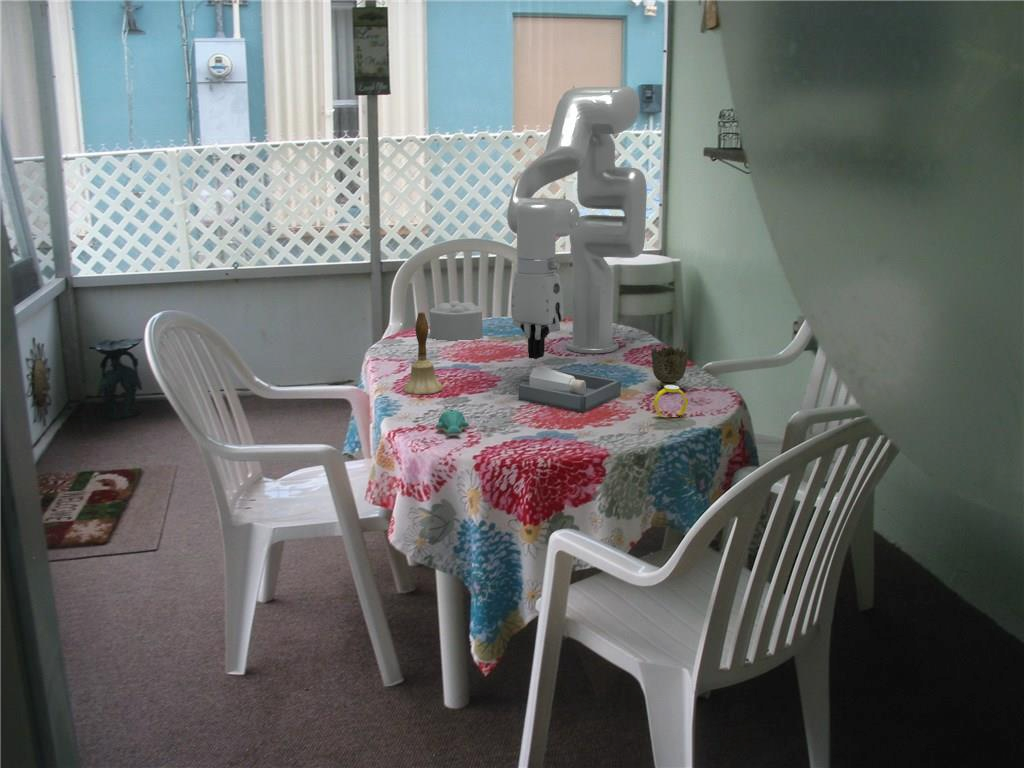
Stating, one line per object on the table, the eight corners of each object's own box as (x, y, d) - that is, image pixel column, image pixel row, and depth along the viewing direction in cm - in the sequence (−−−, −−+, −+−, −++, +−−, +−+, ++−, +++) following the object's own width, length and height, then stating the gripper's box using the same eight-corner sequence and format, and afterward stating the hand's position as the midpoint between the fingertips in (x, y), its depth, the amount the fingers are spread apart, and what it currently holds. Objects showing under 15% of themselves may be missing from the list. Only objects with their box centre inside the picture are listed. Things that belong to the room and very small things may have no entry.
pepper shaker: (531, 397, 189) (579, 406, 184) (526, 375, 186) (574, 384, 180) (544, 381, 193) (591, 390, 187) (539, 360, 190) (587, 368, 184)
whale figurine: (467, 425, 169) (467, 405, 168) (470, 439, 162) (469, 418, 161) (435, 427, 169) (435, 407, 168) (436, 440, 162) (436, 419, 161)
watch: (682, 415, 175) (686, 385, 173) (687, 420, 172) (690, 389, 170) (651, 414, 174) (654, 384, 172) (655, 419, 171) (658, 388, 170)
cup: (664, 395, 186) (665, 356, 184) (642, 386, 193) (644, 348, 191) (694, 390, 190) (696, 351, 188) (672, 381, 196) (673, 344, 194)
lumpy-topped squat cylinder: (484, 340, 234) (483, 306, 232) (432, 342, 232) (431, 308, 230) (478, 331, 244) (477, 298, 242) (428, 333, 242) (427, 300, 240)
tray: (557, 383, 195) (557, 369, 194) (620, 395, 187) (620, 380, 186) (518, 399, 184) (518, 385, 183) (583, 412, 176) (583, 397, 175)
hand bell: (406, 383, 196) (403, 309, 192) (445, 383, 196) (443, 308, 192) (400, 395, 188) (397, 317, 184) (441, 395, 188) (439, 317, 184)
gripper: (578, 267, 182) (577, 358, 187) (516, 261, 190) (517, 348, 195) (557, 272, 176) (557, 366, 181) (494, 265, 184) (495, 356, 189)
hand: (536, 357), depth 188 cm, fingers closed
